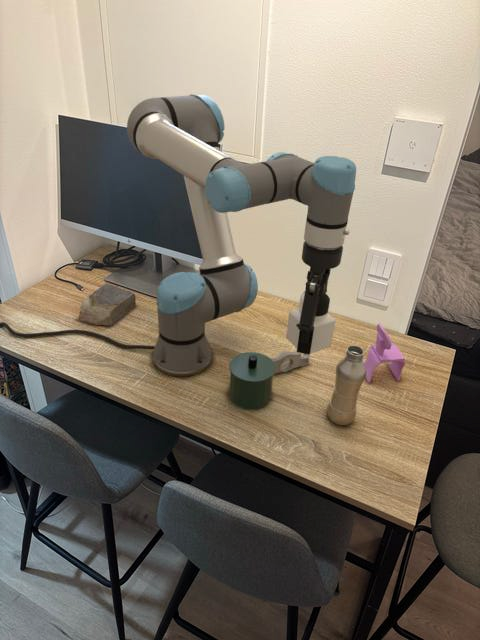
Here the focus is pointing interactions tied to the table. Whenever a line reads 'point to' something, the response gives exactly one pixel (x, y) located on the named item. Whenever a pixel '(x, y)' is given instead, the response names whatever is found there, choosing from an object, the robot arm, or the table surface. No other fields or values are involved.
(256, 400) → the pot
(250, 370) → the pot lid
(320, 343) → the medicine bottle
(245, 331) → the table surface
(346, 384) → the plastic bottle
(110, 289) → the geological specimen
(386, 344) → the toy chair
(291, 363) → the lattice window wall
